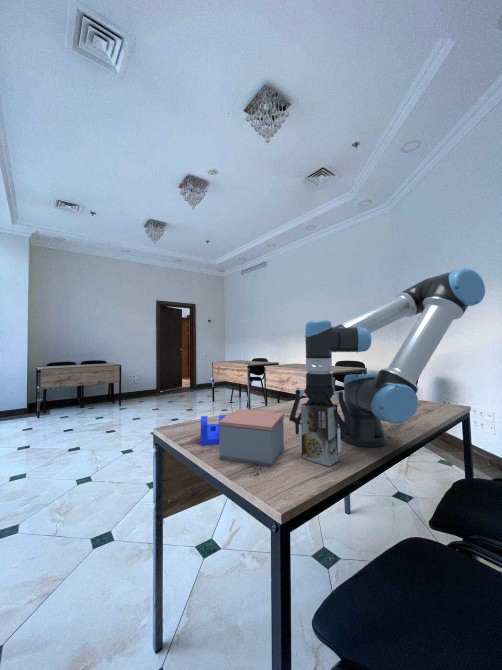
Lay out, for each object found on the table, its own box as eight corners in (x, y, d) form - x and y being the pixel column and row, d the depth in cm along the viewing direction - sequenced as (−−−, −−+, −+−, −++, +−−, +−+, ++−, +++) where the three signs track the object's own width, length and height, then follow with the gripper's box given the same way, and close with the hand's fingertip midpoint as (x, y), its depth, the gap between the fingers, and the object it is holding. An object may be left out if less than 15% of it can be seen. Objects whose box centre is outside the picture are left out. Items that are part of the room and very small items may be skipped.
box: (283, 448, 90) (283, 418, 90) (271, 467, 77) (270, 431, 77) (238, 442, 95) (238, 414, 96) (219, 458, 82) (219, 425, 83)
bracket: (225, 444, 94) (225, 418, 95) (200, 446, 93) (200, 419, 93) (223, 428, 112) (223, 406, 112) (202, 429, 111) (202, 407, 111)
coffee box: (339, 460, 81) (338, 404, 81) (329, 467, 76) (328, 408, 77) (312, 451, 87) (311, 400, 88) (300, 458, 82) (300, 403, 83)
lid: (283, 416, 90) (283, 413, 90) (271, 430, 77) (271, 427, 77) (237, 412, 96) (237, 409, 96) (218, 424, 83) (218, 421, 83)
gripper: (278, 372, 83) (278, 447, 82) (360, 375, 75) (361, 458, 74) (284, 370, 90) (285, 438, 89) (359, 372, 82) (361, 448, 81)
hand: (319, 447), depth 82 cm, fingers closed on coffee box, 10 cm apart
